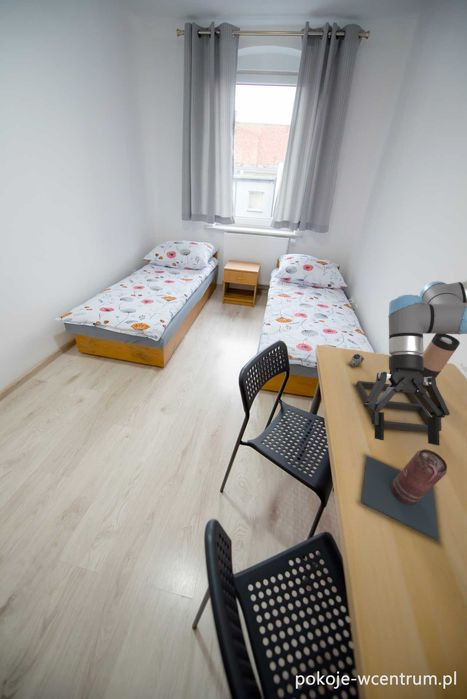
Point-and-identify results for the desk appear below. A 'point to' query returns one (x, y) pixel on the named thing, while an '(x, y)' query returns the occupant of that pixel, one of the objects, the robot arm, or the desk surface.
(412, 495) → the can
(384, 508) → the mat
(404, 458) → the desk surface
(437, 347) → the travel mug
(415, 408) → the frame
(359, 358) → the wristwatch
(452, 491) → the desk surface
